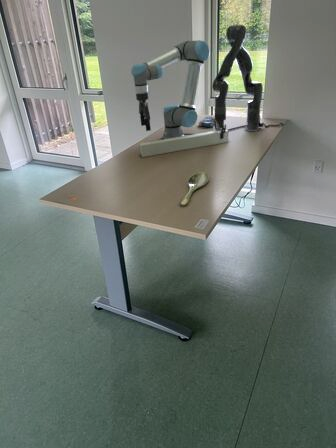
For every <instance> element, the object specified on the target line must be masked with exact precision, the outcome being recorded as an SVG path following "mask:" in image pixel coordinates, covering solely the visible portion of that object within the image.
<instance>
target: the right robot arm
mask: <svg viewBox="0 0 336 448" xmlns="http://www.w3.org/2000/svg"><path fill="white" fill-rule="evenodd" d="M225 34H226V35H225V36H226V40H227V43H228V44H229V46H230V49H229V51H228V52H227V54H226V55H225V56H224V58H223V59H222V62H221V64H220V68H219V70H218V73H217V75H216V76H215V78H214V80H213V82H212V87H211V88H212V90H213V92H216V93H219V94H218V95H217V96H214V117H215V120H216V121H215V123H214V131H217V130H220V139H223V138H224V133H225V131H226V130H227V124H225V121H226V119H227V107H226V106H227V105H226V102H227V101H226V100H227V96H228V92H229V82H228V81H227V80H225V79H226V78H229V77H230V75H231V72H232V69H233V66H234V63H235V61H236V64H237V67H238V70H239V73H240V76H241V79H242V83H243V87H244V91H245V94H246V95H247V96H250V97H253V99H252V100H249V101H247V103H246V122H245V125H246V126H245V130H246V131H248V132H256V131H259V130H260V128H264V127H265V128H268V127H279V126H280V125H282V126H283V125H285V124H284V123H283V122H280V123H278V124H268V125H266V123H264V121H261V103H262V100H263V99H262V97H263V90H264V89H263V83H262V82H258V81H253V80H252V78H251V77H252V76H251V75H252V72H253V68H254V64H253V59H252V57H251V55H250V53H249V52H248V51H247V50H246V49H245V48H244V47H243V43H244V41H245V39H246V37H247V28H246V26H245V25H243V24H242V25H241V24H234V25H233V24H232V25H229V26H228V27H227V28H226V32H225ZM221 130H222V131H221Z"/></svg>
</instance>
